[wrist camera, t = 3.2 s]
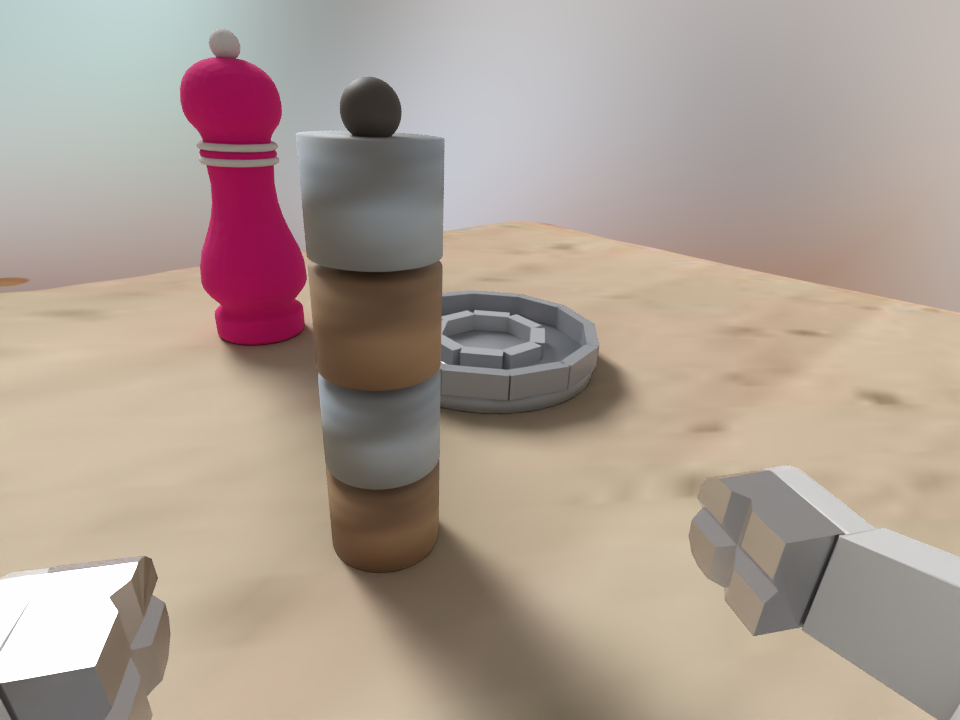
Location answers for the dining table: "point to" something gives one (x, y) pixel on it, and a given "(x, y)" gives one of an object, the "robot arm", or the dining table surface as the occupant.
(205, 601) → the dining table surface
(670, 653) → the dining table surface
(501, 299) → the tray
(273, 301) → the pepper mill
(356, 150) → the bead column
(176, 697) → the dining table surface
